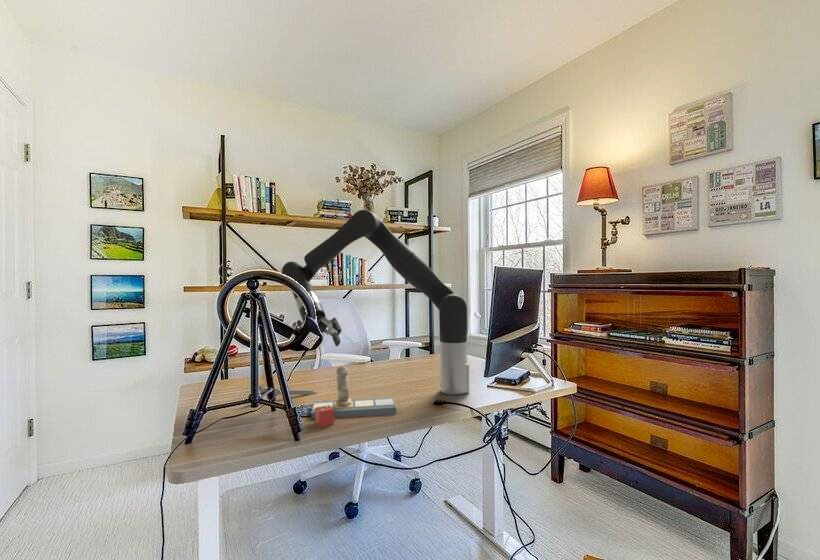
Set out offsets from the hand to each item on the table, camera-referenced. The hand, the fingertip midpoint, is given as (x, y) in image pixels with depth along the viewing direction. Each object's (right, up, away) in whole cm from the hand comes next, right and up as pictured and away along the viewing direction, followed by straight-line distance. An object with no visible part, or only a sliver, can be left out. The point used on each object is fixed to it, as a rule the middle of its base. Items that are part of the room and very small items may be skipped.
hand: (326, 346), depth 127 cm
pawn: (+7, -16, -8) cm, 19 cm away
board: (+10, -18, -8) cm, 22 cm away
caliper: (-14, -18, +5) cm, 24 cm away
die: (+3, -18, -18) cm, 26 cm away
